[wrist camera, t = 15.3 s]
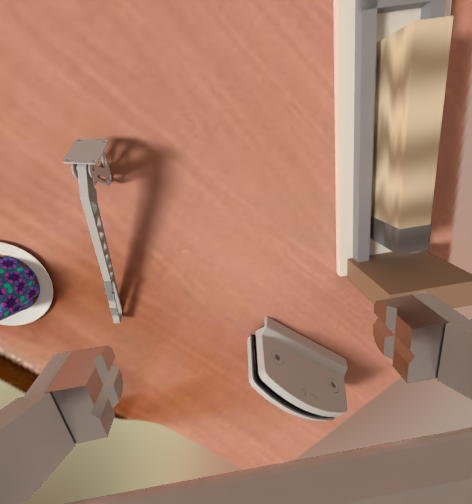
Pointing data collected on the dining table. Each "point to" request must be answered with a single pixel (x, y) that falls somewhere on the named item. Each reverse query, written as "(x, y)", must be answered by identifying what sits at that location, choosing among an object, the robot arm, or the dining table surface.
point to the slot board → (361, 159)
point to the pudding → (22, 287)
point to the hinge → (296, 373)
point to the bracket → (95, 207)
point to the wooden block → (408, 132)
